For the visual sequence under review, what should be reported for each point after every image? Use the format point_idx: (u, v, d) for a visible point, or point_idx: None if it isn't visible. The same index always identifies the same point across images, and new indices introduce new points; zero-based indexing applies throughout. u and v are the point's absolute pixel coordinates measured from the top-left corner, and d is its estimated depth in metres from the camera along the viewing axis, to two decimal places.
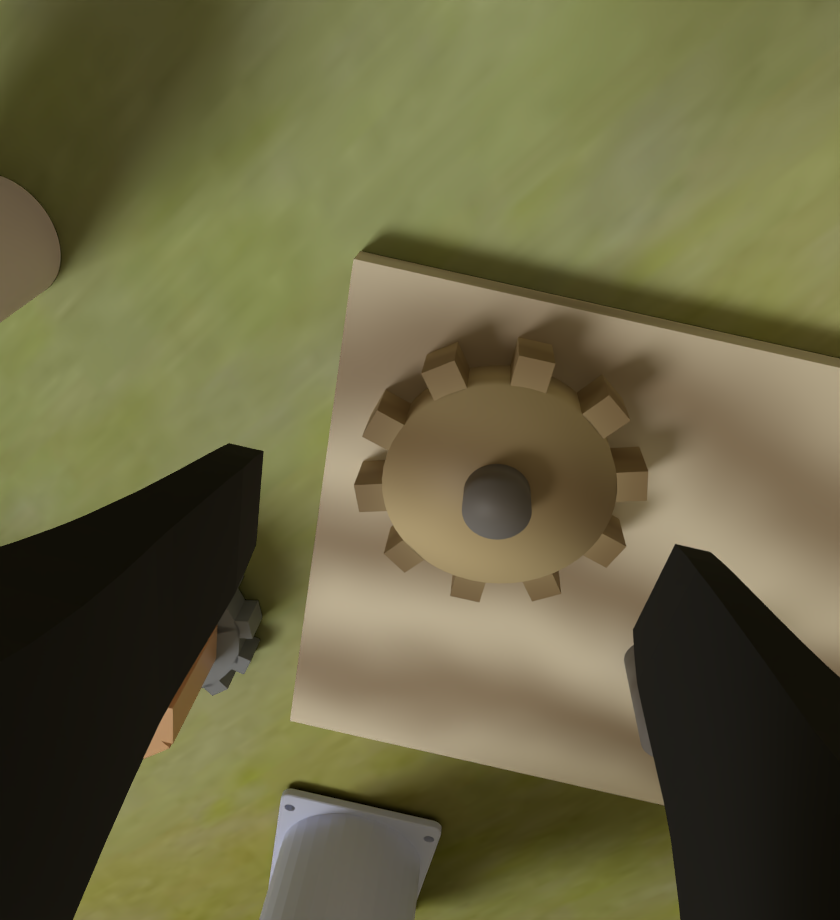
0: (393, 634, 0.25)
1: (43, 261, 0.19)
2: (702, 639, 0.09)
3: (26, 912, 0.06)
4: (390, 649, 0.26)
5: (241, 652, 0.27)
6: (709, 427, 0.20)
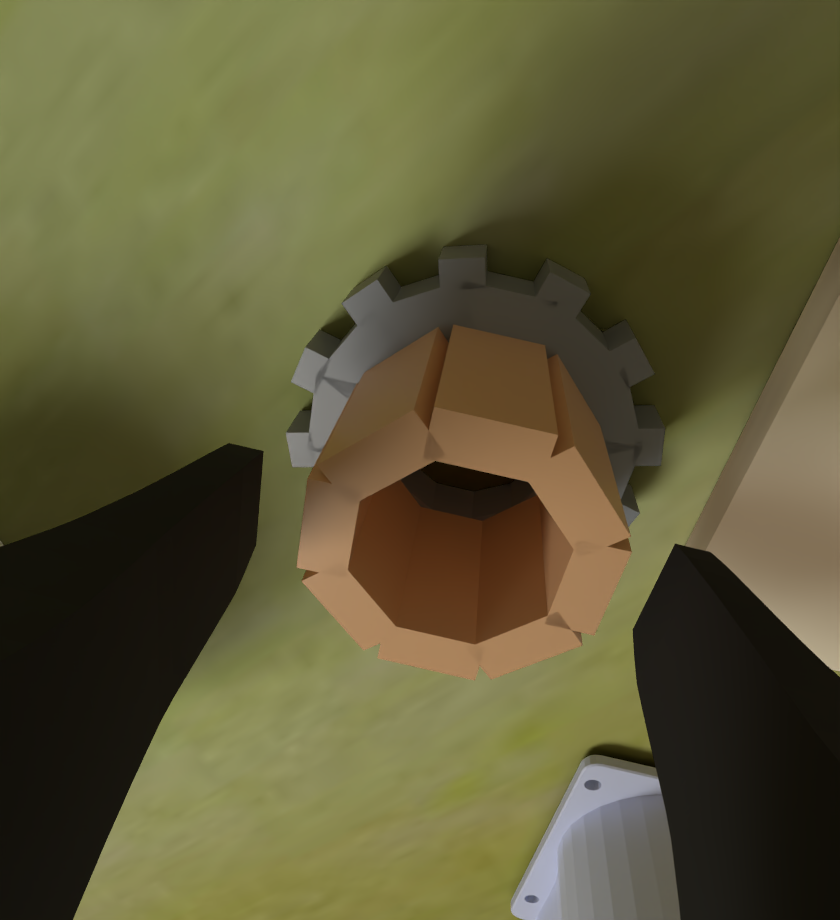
0: None
1: None
2: (702, 639, 0.09)
3: (26, 912, 0.06)
4: None
5: (620, 499, 0.15)
6: None
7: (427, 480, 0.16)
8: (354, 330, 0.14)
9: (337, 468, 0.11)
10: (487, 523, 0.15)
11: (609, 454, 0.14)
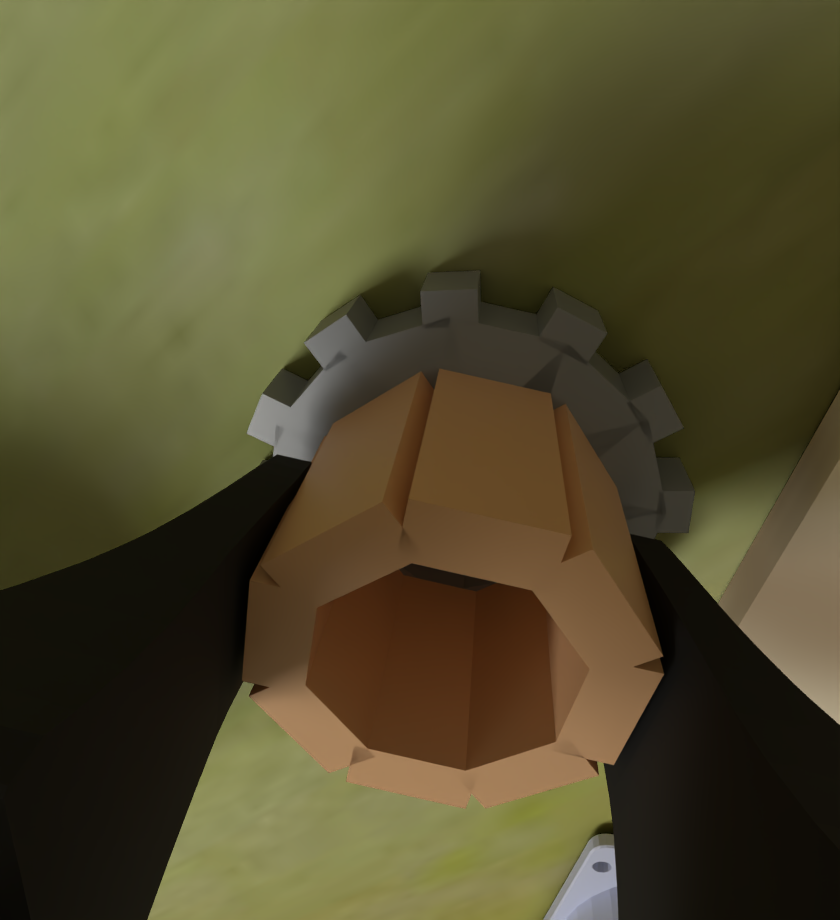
0: None
1: None
2: None
3: None
4: None
5: None
6: None
7: None
8: (320, 374, 0.11)
9: (286, 569, 0.08)
10: (482, 595, 0.13)
11: (627, 519, 0.12)
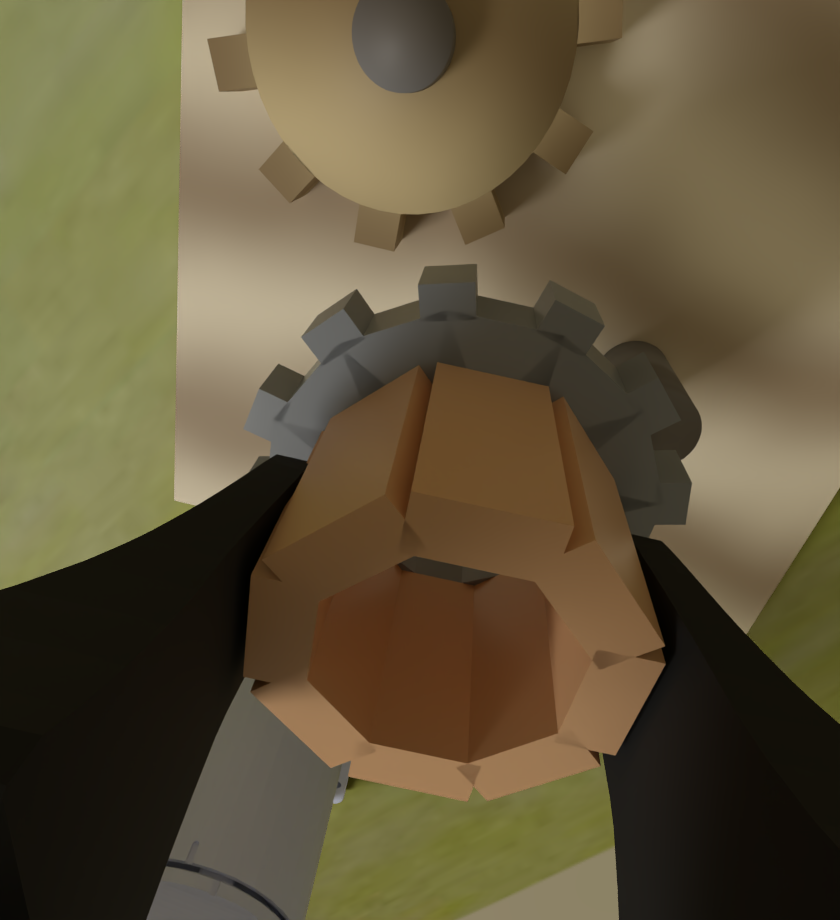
0: (293, 351, 0.19)
1: None
2: None
3: None
4: None
5: None
6: None
7: None
8: (317, 368, 0.11)
9: (288, 563, 0.08)
10: (480, 589, 0.13)
11: (624, 511, 0.12)
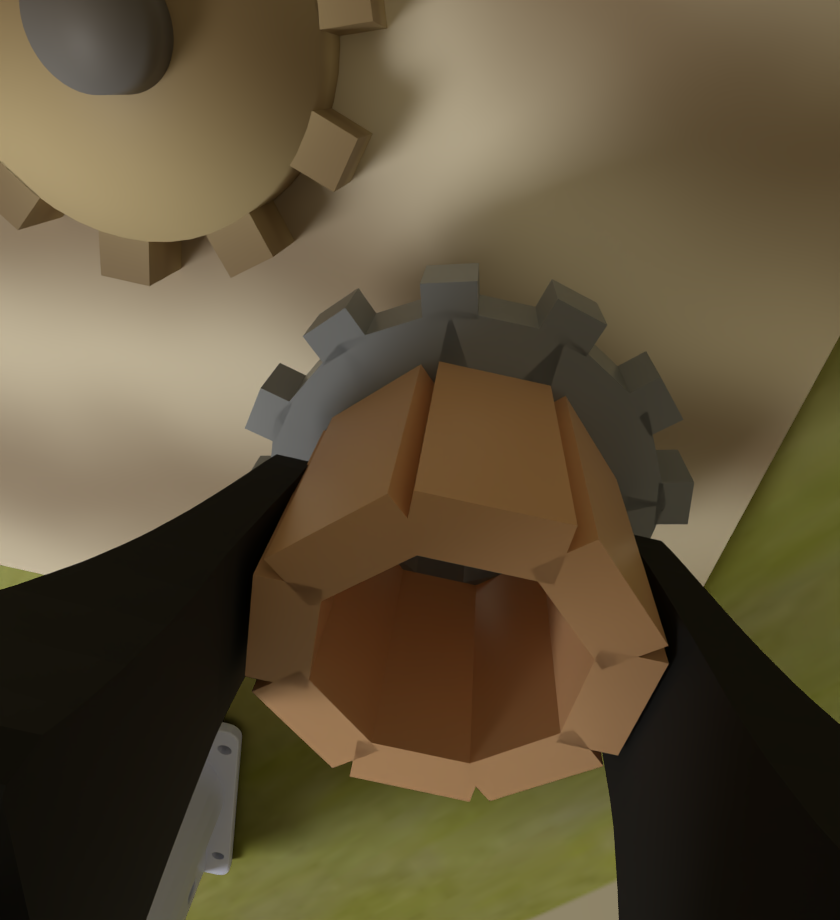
0: (82, 397, 0.16)
1: None
2: None
3: None
4: (86, 425, 0.17)
5: None
6: None
7: None
8: (319, 368, 0.11)
9: (290, 563, 0.08)
10: (482, 589, 0.13)
11: (626, 511, 0.12)
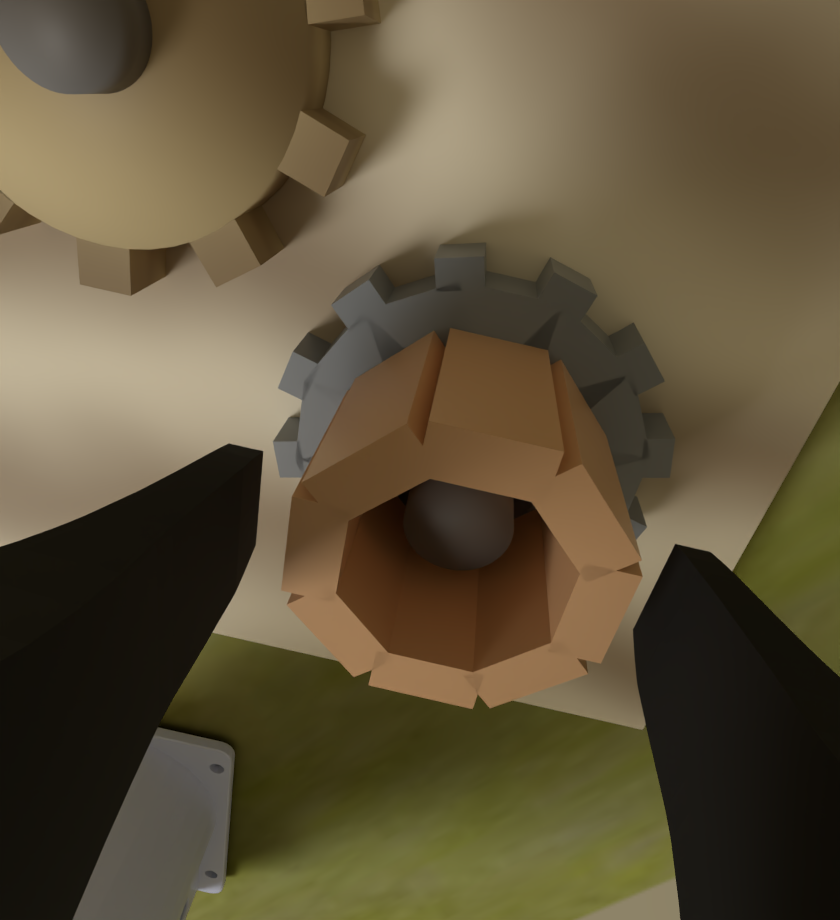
0: (65, 409, 0.16)
1: None
2: (702, 639, 0.09)
3: (26, 912, 0.06)
4: (69, 438, 0.16)
5: None
6: None
7: None
8: (344, 333, 0.13)
9: (323, 486, 0.10)
10: None
11: (615, 465, 0.13)
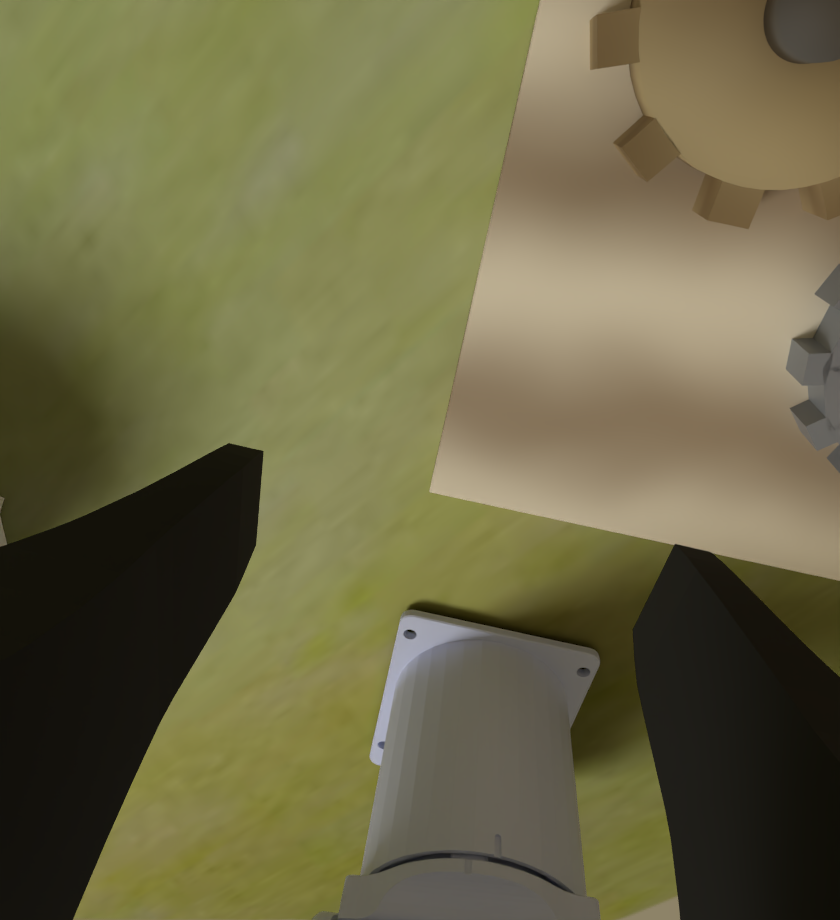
0: (589, 336, 0.19)
1: None
2: (702, 639, 0.09)
3: (26, 912, 0.06)
4: (581, 362, 0.19)
5: None
6: None
7: None
8: None
9: None
10: None
11: None
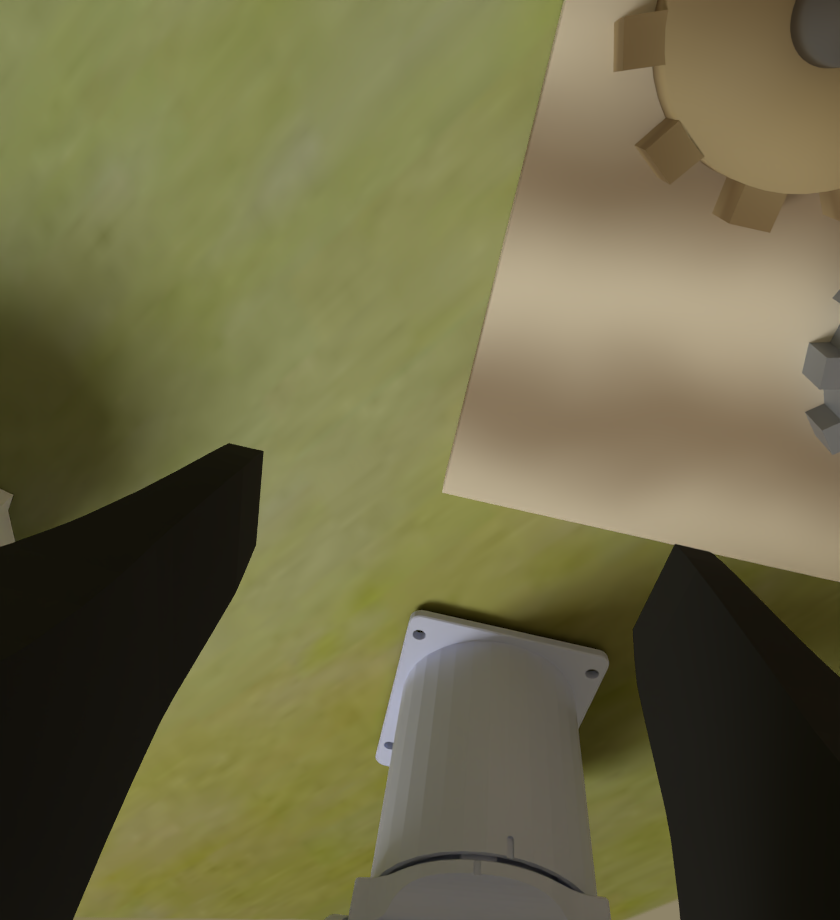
0: (605, 338, 0.19)
1: None
2: (702, 639, 0.09)
3: (26, 912, 0.06)
4: (598, 364, 0.19)
5: None
6: None
7: None
8: None
9: None
10: None
11: None
